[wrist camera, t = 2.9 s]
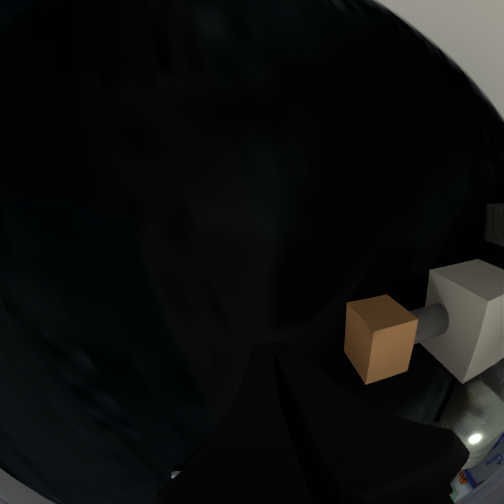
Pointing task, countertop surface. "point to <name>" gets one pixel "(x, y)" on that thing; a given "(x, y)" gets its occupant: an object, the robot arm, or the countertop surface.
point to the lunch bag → (478, 471)
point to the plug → (432, 325)
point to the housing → (480, 384)
